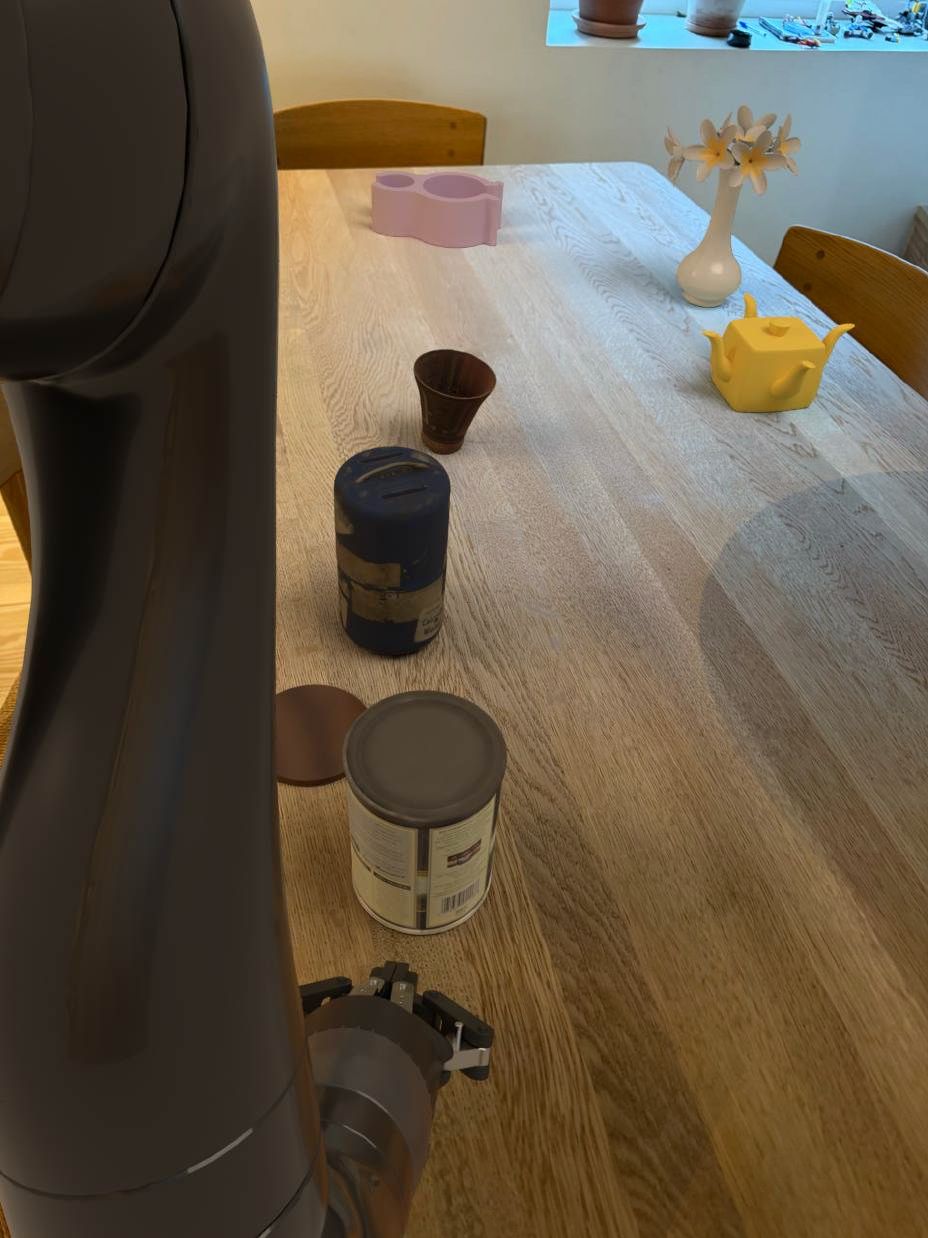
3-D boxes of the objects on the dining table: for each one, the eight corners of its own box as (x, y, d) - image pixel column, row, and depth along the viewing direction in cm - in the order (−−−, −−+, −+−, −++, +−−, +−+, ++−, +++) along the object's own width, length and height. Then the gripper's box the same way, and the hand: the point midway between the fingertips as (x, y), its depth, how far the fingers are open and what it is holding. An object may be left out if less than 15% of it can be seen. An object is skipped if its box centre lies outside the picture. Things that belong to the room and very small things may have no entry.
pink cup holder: (366, 238, 148) (365, 193, 144) (381, 208, 157) (380, 164, 153) (494, 251, 147) (497, 206, 143) (502, 220, 156) (505, 176, 151)
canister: (335, 594, 90) (326, 432, 78) (435, 586, 92) (441, 425, 79) (345, 668, 83) (336, 503, 71) (452, 658, 85) (461, 494, 72)
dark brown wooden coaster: (281, 806, 73) (280, 800, 72) (229, 718, 79) (228, 712, 78) (395, 754, 77) (395, 747, 76) (338, 674, 83) (338, 668, 82)
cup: (482, 475, 105) (489, 395, 98) (403, 462, 106) (404, 382, 99) (496, 432, 111) (503, 353, 104) (422, 420, 112) (423, 342, 105)
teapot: (684, 396, 119) (701, 324, 112) (726, 352, 128) (744, 283, 121) (797, 436, 114) (822, 363, 107) (832, 387, 123) (858, 317, 116)
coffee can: (400, 790, 74) (401, 666, 65) (516, 851, 71) (536, 731, 61) (320, 891, 68) (308, 770, 58) (444, 964, 64) (453, 849, 55)
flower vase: (625, 282, 142) (657, 97, 125) (740, 276, 145) (787, 96, 128) (656, 323, 133) (694, 131, 115) (777, 317, 136) (833, 128, 119)
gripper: (507, 1054, 41) (510, 932, 59) (208, 1009, 42) (298, 901, 59) (485, 1228, 41) (494, 1054, 58) (186, 1180, 42) (283, 1022, 59)
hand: (395, 977), depth 59 cm, fingers closed
